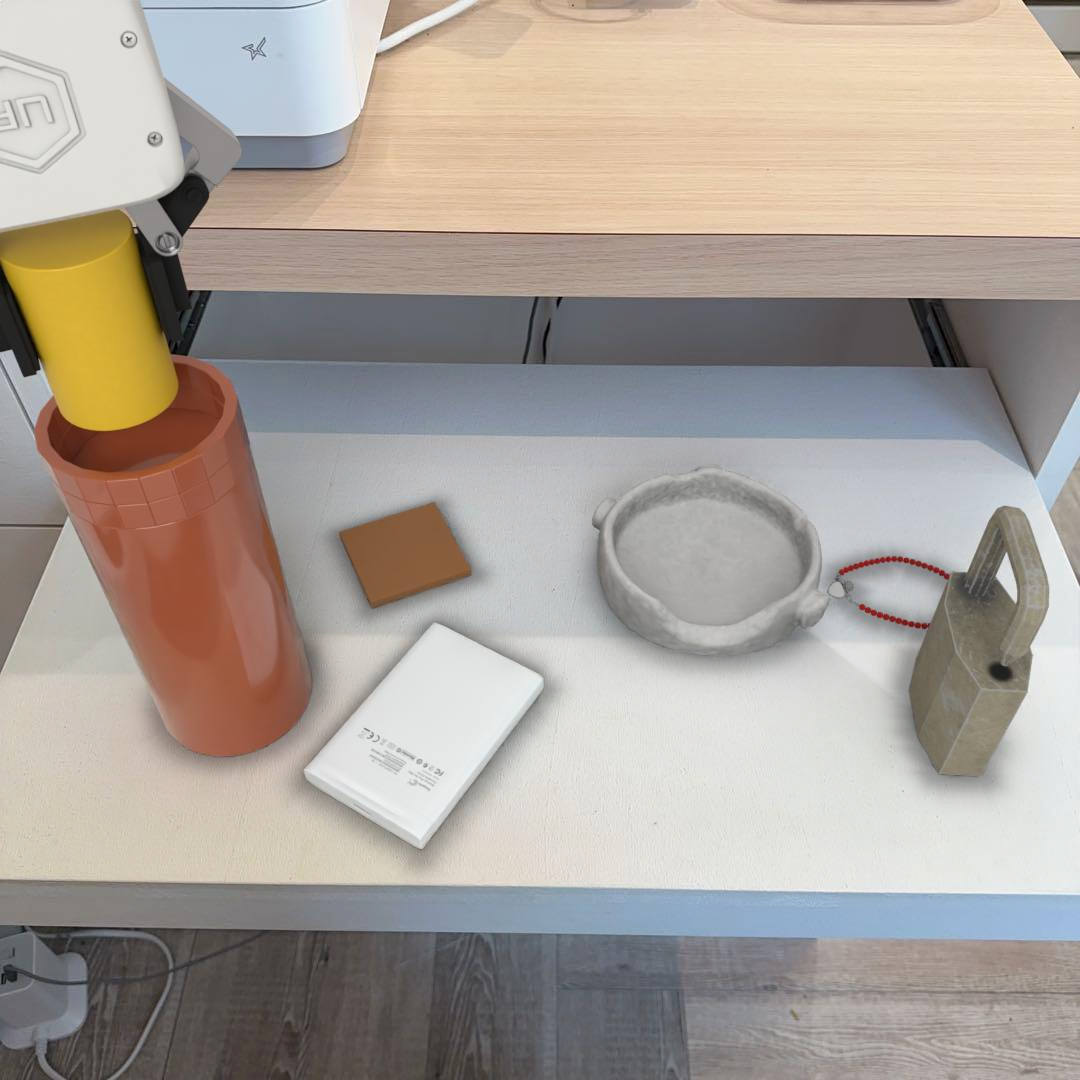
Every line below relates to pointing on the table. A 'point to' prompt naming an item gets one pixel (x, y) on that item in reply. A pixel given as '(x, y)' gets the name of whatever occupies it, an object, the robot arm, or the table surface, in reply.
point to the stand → (188, 561)
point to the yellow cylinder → (92, 319)
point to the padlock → (980, 649)
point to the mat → (404, 554)
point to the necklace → (844, 586)
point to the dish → (709, 562)
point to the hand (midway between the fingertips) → (99, 337)
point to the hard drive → (425, 733)
